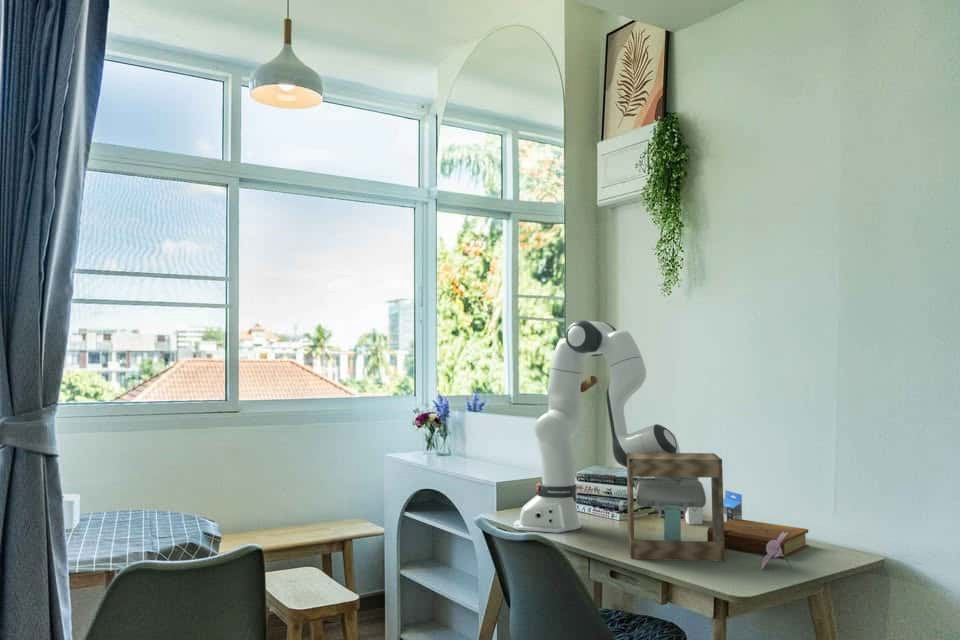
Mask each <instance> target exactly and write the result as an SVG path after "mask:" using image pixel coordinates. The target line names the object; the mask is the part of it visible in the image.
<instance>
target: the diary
mask: <svg viewBox="0 0 960 640" xmlns="http://www.w3.org/2000/svg"><path fill="white" fill-rule="evenodd" d="M783 531H784V532H783ZM706 532H707V533H706V535H707V536H706V537H707V538H706V539H707V542H713V527H712V526H709V527H708V529H707V531H706ZM782 532H783V534H785V533H787V535H786V536H785V537H784V538H783V540H782V541H781V547H782V554H783V556H784V557H785V558H786V559H787V558H789V557H791V556H792V555H795V554H796V553H799V552H801V551H803V550H805V549H807V548H809V547H810V544H806V543H807V542H806V534H808V533H809V529H808V528H801V527H795V526H790V525H789V526H788V525H781V524H775V523H768V522H763V521H762V522H761V521H755V520H747V519H743V518H742V519H732V520H729V521H726V522H724V549H726V548H728V549H727V550H732V549H733V551H737V550H738V552H744V553H750V554H756V555H760V556H766V555H767V554H768V553H767V551H766V547H767V544H768V542H769V541H771V540H776V541H777V539H778V537H779V536H780V535H781V533H782ZM783 556H778V557H777V558H779V559H784V560H786V559H785V558H784V557H783Z"/></svg>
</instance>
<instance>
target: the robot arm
mask: <svg viewBox="0 0 960 640" xmlns="http://www.w3.org/2000/svg"><path fill="white" fill-rule="evenodd" d="M590 356H592V357H598V356H603V357H604V358H605V361H606V364H607V367H608V369H609V373H610V382H609V386H608V387H607V389H606V405H607V412H608V418H609V425H610V432H611V439H612V444H611V445H612V453H613V456H614V460H615V461H616V463H618V464H619V465H620V466H622V467H625V468H627V453H681V450H680V445H679V441H678V439H677V437H676V435H675V434H674V433H673V432H671V431H670V430H669V429H668V428H666V427H664V426H663V425H661V424H658V423H656V424H652V425H649V426H647V427H644V428H642V429H639V430H636V431H634V432H631V433H628V428H627V424H626V415H625V410H624V409H625V405H626V404H627V401H629V399H630V398H631V397H632V396H633V395H634V394H635V393H636V392H637V391H639V390H640V389H641V387H642V386H643V384H644V382H645V381H646V378H647V369H646V365H645V361H644V359H643V356H642V354H641V351H640V349H639V347H638V345H637V343H636V340H635V339H634V338H633V336H632V335H631V333H630V332H628V331H627V330H623V329H619V330H618V329H617V328H616V327H615V326H613V325H611V324H609V323H605V322H601V321H597V320H593V321H592V320H591V321H589V320H578V321H575V322H573V323H572V324H570V325H569V326H568V327H567V329H566V332H565V337H564V338H562V339H559V341H558V342H557V344H556V346H555V349H554V352H553V355H552V360H551V364H550V370H549V376H548V383H547V395H548V410H547V412H545V413H543V414H542V415H540V417H539V418H538V419H537V421H536V422H535V425H534V433H535V436H536V438H537V440H538V447H539V452H540V457H541V467H542V468H541V479H542V480H541V481H542V483H540V482H538V483H536V484H535V489H536V495H535V496H534V497H533V498H531V499H530V500H529V501H528V502H526V503H525V504H524V505H523V506H522V508H521V511H520V515H519V519H517V520H515V521H514V522H513V529H515V530H517V531H527V532H528V531H531V532H543V533H545V532H546V533H556V534H557V533H559V534H560V533H564V532H567V531H575V530H578V529H580V528H581V527H582V525H581V523H580V518H579V514H578V506H577V500H578V488H577V483H576V462H575V458H574V455H573V451H572V446H571V440H572V439H573V438H574V437H575V436H576V435H577V433H578V432H579V429H580V426H581V425H580V423H581V422H580V394H581V389H582V382H583V374H584V368H585V362H586V361H587V358H589V357H590ZM699 479H700V477H639V478H637V479H635V481H633V487H634V489H635V490H636V505H638V507H654V510H655V511H656V513H658V517H659V519H664V518H665V511H664V509H662V508H661V507H663V508H682V510H681V520H683V519H685V513H686V512H687V510H688V507H700V508H702V509H703V508H704V507H705V505H706V504H707V503H706V502H707V497H706V492H705V489H704V485H703V484H702V482H701V481H700V480H699Z"/></svg>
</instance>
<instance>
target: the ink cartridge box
mask: <svg viewBox="0 0 960 640" xmlns="http://www.w3.org/2000/svg"><path fill="white" fill-rule="evenodd" d="M684 520H685V521H686V522H685V521H684ZM684 520H683V521H684V522H685V523H686V524H687V525H689V524H690V525H703V507H702V508H700V507H688V510H687V512H686V513H685V519H684Z"/></svg>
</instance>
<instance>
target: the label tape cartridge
mask: <svg viewBox="0 0 960 640" xmlns="http://www.w3.org/2000/svg"><path fill="white" fill-rule="evenodd" d="M724 491H725V492H724V493H725V495H724V496H725V497H723V512H724V522H726V521H729V520H732V519H742V520H743V512H742V511H743V503H742V501H743V497H742V496H743V495H742V494H740V493H737V492H734V491H730V490H724ZM732 496H733V497H732Z"/></svg>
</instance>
